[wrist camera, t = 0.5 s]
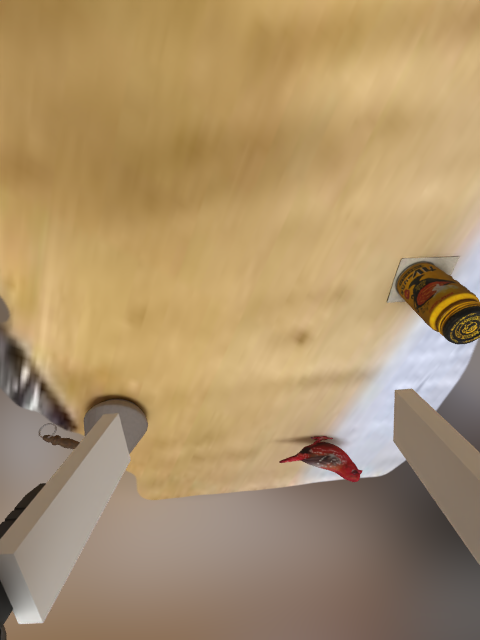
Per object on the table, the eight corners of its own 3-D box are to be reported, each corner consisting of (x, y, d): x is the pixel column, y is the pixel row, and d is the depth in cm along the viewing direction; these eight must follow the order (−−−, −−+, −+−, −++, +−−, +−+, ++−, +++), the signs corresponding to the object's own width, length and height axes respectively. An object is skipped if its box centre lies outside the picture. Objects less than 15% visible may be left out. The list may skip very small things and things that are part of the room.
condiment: (400, 258, 42) (455, 305, 32) (458, 256, 42) (530, 301, 32) (386, 301, 46) (430, 354, 36) (439, 299, 46) (496, 351, 37)
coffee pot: (157, 424, 61) (143, 503, 49) (103, 431, 62) (75, 512, 50) (119, 348, 48) (86, 430, 36) (51, 358, 49) (-4, 442, 37)
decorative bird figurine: (347, 440, 69) (364, 485, 61) (273, 438, 67) (280, 485, 59) (351, 433, 67) (369, 478, 59) (275, 431, 65) (284, 477, 57)
